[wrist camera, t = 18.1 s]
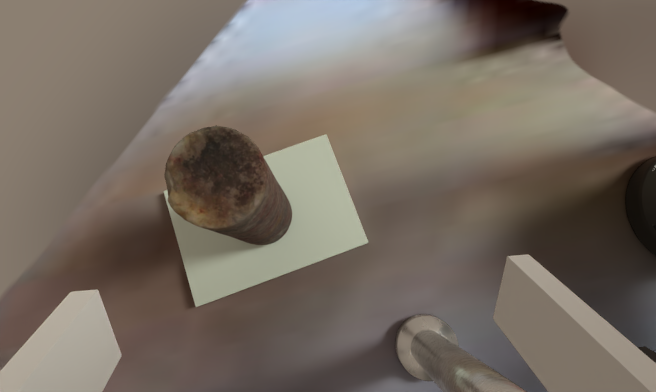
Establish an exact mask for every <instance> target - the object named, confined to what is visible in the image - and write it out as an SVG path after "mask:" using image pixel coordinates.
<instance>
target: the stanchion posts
mask: <svg viewBox="0 0 656 392" xmlns="http://www.w3.org/2000/svg"><path fill="white" fill-rule="evenodd" d="M395 348H396V353H397V356H398V358H399V360H400V362H401V363H402V365H403V366H404V368H405V369H406V370H407V371H408V372H409V373H410V374H411V375H413V376H414V377H416V378H418V379H420V380H424V381H434V382H435V383H436V384H437V385H438V387H439V388H440V389H441V390H442V391H443V392H527V391H525V390H524V389H522V388H521V387H519V386H518V385H516V384H515V383H513V382H511V381H510V380H508V379H507V378H505V377H504V376H502V375H501V374H499V373H498V372H496V371H495V370H493V369H492V368H490V367H489V366H487V365H486V364H484V363H483V362H481V361H479V360H478V359H476V358H475V357H473V356H472V355H470V354H469V353H467V352H466V351H464V350H463V349H461V348H460V347H459V345H458V341H457V338H456V335H455V333H454V332H453V330H452V329H451V328H450V326H449V325H447V324H446V323H445V322H444V321H442V320H440V319H439V318H437V317H434V316H432V315H428V314H418V315H414V316H412V317H410V318H408V319H407V320H406V321H404V322H403V324H402V325H401V326H400V328H399V329H398V332H397V335H396V339H395Z"/></svg>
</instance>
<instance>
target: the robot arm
mask: <svg viewBox="0 0 656 392" xmlns="http://www.w3.org/2000/svg"><path fill="white" fill-rule="evenodd" d="M626 209H627V214H628V218H629V221H630V223H631V226H632V228H633V230H634V232H635V233H636V235H637V236H638V238H639V239H640V241H641V242H642V243H643V244H644V245H645V246H646V247H647V248H648V249H649V250H650V251H651V252H652V253H653V254H654V255H656V157H653V158H651V159H649V160H648V161H646V162H644V163H643V164H642V165H641V166H640V167H639V168H638V169H637V170H636V171H635V173H634V174H633V176H632V177H631V179H630V182H629V184H628V187H627V192H626ZM493 320H494V321H495V322H496V324H497V325H498V326H499V327H500V329H501V330H502V331H503V333H504V334H505V335H506V337H507V338H508V339H509V341H510V342H511V343H512V345H513V346H514V347H515V349H516V350H517V351H518V353H519V354H520V355H521V357H522V358H523V359H524V360H525V362H526V363H527V364H528V366H529V367H530V368H531V370H532V371H533V372H534V374H535V375H536V376H537V378H538V379H539V380H540V382H541V383H542V384H543V386H544V387H545V388H546V389H547V391H548V392H656V353H655V352H654V351H652V350H650V349H648V348H647V347H638V348H637V347H636V346H635V345H634V344H633V343H631V342H630V341H629V340H628V339H627V338H626V337H624V336H623V335H622V334H621V333H620V332H619V331H617V330H616V329H615V328H614V327H613V326H612V325H610V324H609V323H608V322H607V321H606V320H605V319H603V318H602V317H601V316H600V315H599V314H598V313H596V312H595V311H594V310H593V309H592V308H591V307H589V306H588V305H587V304H586V303H585V302H584V301H582V300H581V299H580V298H579V297H578V296H577V295H575V294H574V293H573V292H572V291H571V290H570V289H568V288H567V287H566V286H565V285H564V284H563V283H561V282H560V281H559V280H558V279H557V278H556V277H554V276H553V275H552V274H551V273H550V272H549V271H547V270H546V269H545V268H544V267H543V266H542V265H540V264H539V263H538V262H537V261H536V260H535V259H533V258H532V257H531V256H530V255H529V254H527V255H515V256H507V260H506V264H505V268H504V273H503V277H502V281H501V286H500V290H499V294H498V299H497V303H496V307H495V312H494V316H493ZM121 356H122V355H121V352H120V349H119V346H118V344H117V341H116V338H115V335H114V333H113V330H112V327H111V324H110V322H109V319H108V316H107V313H106V311H105V308H104V305H103V302H102V300H101V297H100V294H99V291H98V290H85V291H73V292H70V293H69V294H68V295H67V297H66V298H65V299H64V300H63V301H62V302H61V303H60V304H59V306H58V307H57V308H56V309H55V310H54V311H53V312H52V313H51V315H50V316H49V317H48V318H47V319H46V320H45V321H44V322H43V324H42V325H41V326H40V327H39V328H38V329H37V330H36V331H35V333H34V334H33V335H32V336H31V337H30V338H29V339H28V340H27V342H26V343H25V344H24V345H23V346H22V347H21V348H20V349H19V351H18V352H17V353H16V354H15V355H14V356H13V357H12V358H11V360H10V361H9V362H8V363H7V364H6V365H5V366H4V367H3V369H2V370H1V371H0V392H102V391H103V389H104V388H105V386H106V384H107V382H108V380H109V378H110V376H111V375H112V373H113V371H114V369H115V367H116V365H117V364H118V362H119V360H120V358H121Z"/></svg>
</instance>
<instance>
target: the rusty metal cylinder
mask: <svg viewBox="0 0 656 392" xmlns="http://www.w3.org/2000/svg"><path fill="white" fill-rule="evenodd" d="M165 180H166V184H167V190H168V196H169V197H168V202H169V204H170V206H171V208H172V209H173V210H174V212H175V213H177V214H178V215H179V216H181V217H182V218H183V219H184V220H186V221H187V222H190V223H191V224H193V225H196V226H198V227H201V228H204V229H208V230H211V231H214V232H217V233H220V234H223V235H227V236H230V237H233V238H235V239H238V240H241V241H244V242H246V243H249V244H254V245H268V244H272V243H274V242H276V241H278V240H279V239H281V238H282V237H283V236H284V235H285V234H286V232H287V230H288V229H289V226H290V224H291V221H292V209H291V205H290V202H289V200H288V198H287V196H286V194H285V193H284V191H283V190H282V188H281V186H280V185H279V183H278V182H277V180H276V178H275V176H274V175H273V173H272V171H271V169H270V167H269V166H268V164H267V162H266V160H265V159H264V157H263V155H262V154H261V152H260V150H259V148H258V147H257V146H256V144H255V143H254V142H253V141H252V140H251V139H250V138H249V137H247V136H246V135H244V134H242V133H240V132H238V131H237V130H234V129H231V128H227V127H220V126H213V127H206V128H202V129H200V130H197V131H195V132H192V133H189V134H188V135H187V136H185V137H184V138H183V139H182V140H181V141H180V142H179V143H178V144H177V145H176V146H175V147H174V148H173V150H172V152H171V154H170V156H169V158H168V160H167V163H166V170H165Z"/></svg>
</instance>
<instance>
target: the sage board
mask: <svg viewBox="0 0 656 392" xmlns="http://www.w3.org/2000/svg"><path fill="white" fill-rule="evenodd" d="M263 157H264V159H265V160H266V162H267V164H268V166H269V167H270V169H271V171H272V173H273V175H274V176H275V178H276V180H277V182H278V183H279V185H280V186H281V188H282V190H283V191H284V193H285V194H286V196H287V198H288V200H289V202H290V205H291V209H292V221H291V224H290V226H289V229H288V230H287V232H286V234H285V235H284V236H283V237H282V238H281V239H279V240H278V241H276V242H274V243H272V244H268V245H254V244H249V243H246V242H244V241H241V240H238V239H235V238H233V237H230V236H227V235H223V234H220V233H217V232H214V231H211V230H208V229H204V228H201V227H198V226H196V225H193V224H191V223H190V222H187V221H186V220H184V219H183V218H182V217H181V216H179V215H178V214H177V213H175V212H174V210H173V209H172V208H171V206H170V204H169V202H168V197H169V196H168V190H166V191H164V195H165V198H166V202H167V206H168V209H169V213H170V216H171V220H172V224H173V227H174V231H175V234H176V238H177V242H178V245H179V249H180V252H181V256H182V260H183V263H184V267H185V270H186V274H187V278H188V281H189V285H190V288H191V292H192V296H193V299H194V303H195V306H196V307H198V306H201V305H204V304H206V303H209V302H212V301H214V300H217V299H220V298H222V297H225V296H228V295H230V294H233V293H236V292H238V291H241V290H244V289H246V288H249V287H252V286H254V285H257V284H260V283H262V282H265V281H268V280H270V279H273V278H276V277H279V276H281V275H284V274H287V273H289V272H292V271H295V270H297V269H300V268H303V267H305V266H308V265H311V264H313V263H316V262H319V261H321V260H324V259H327V258H329V257H332V256H335V255H337V254H340V253H343V252H345V251H348V250H351V249H353V248H356V247H359V246H361V245H364V244H367V243H368V240H367V238H366V235H365V233H364V230H363V227H362V225H361V222H360V220H359V217H358V215H357V212H356V209H355V207H354V204H353V202H352V199H351V197H350V194H349V191H348V189H347V186H346V184H345V181H344V178H343V176H342V173H341V171H340V168H339V166H338V163H337V160H336V158H335V155H334V153H333V150H332V148H331V145H330V142H329V140H328V137H327V135H323V136H320V137H317V138H314V139H311V140H308V141H306V142H303V143H300V144H297V145H294V146H291V147H288V148H286V149H283V150H280V151H277V152H274V153H271V154H268V155H266V156H263Z"/></svg>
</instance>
